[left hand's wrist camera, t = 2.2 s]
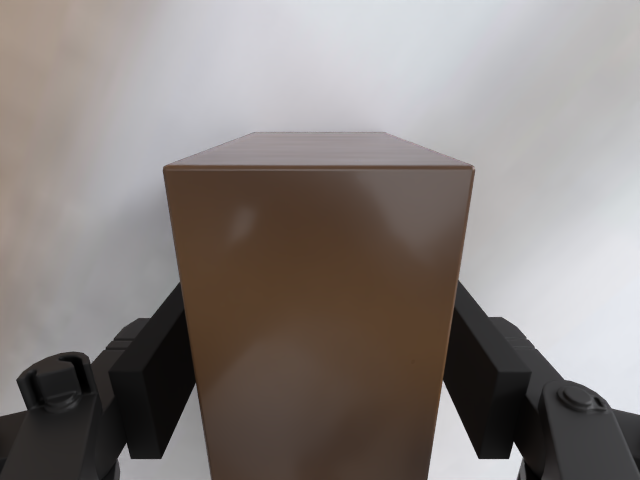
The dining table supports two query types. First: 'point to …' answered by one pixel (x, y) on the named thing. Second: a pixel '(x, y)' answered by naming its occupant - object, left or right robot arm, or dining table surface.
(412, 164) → the bar
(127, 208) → the dining table surface
